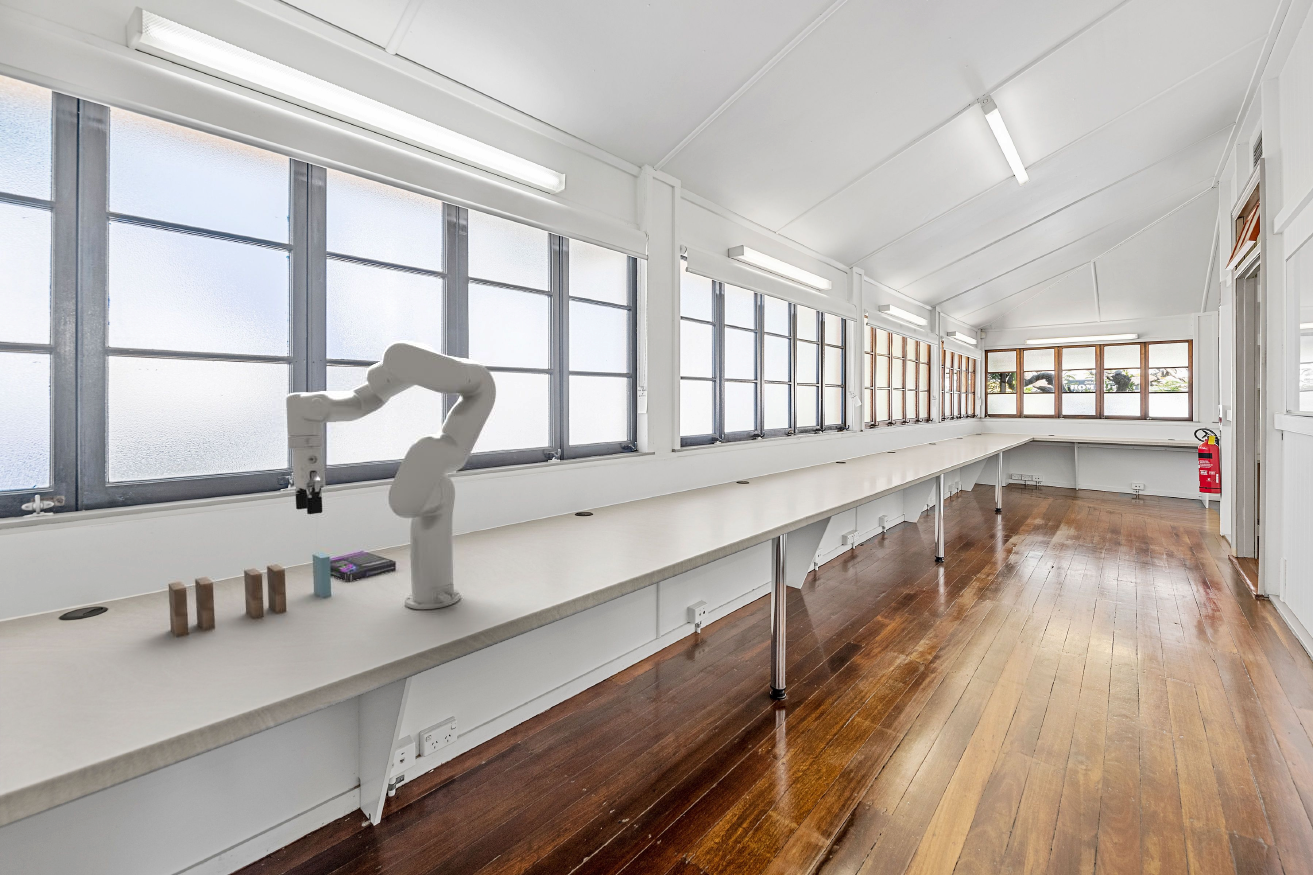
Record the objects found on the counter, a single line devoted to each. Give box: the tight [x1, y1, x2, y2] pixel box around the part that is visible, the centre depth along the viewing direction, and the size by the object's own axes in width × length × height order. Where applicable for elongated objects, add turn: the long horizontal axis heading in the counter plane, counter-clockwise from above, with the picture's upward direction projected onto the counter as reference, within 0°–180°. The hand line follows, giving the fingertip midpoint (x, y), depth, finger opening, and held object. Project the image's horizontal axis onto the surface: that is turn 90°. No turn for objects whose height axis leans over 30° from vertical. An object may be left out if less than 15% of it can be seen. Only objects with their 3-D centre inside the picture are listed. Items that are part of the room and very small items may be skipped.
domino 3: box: [243, 567, 265, 620], centre depth 133 cm, size 2×6×10 cm, turn 48°
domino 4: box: [266, 563, 287, 615], centre depth 137 cm, size 2×6×10 cm, turn 48°
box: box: [330, 550, 397, 583], centre depth 169 cm, size 14×4×20 cm
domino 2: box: [194, 576, 216, 632], centre depth 126 cm, size 2×6×10 cm, turn 48°
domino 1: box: [168, 581, 189, 638], centre depth 123 cm, size 2×6×10 cm, turn 48°
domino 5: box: [312, 552, 332, 599], centre depth 147 cm, size 2×6×10 cm, turn 48°
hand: (309, 510), depth 146 cm, fingers open, 9 cm apart
